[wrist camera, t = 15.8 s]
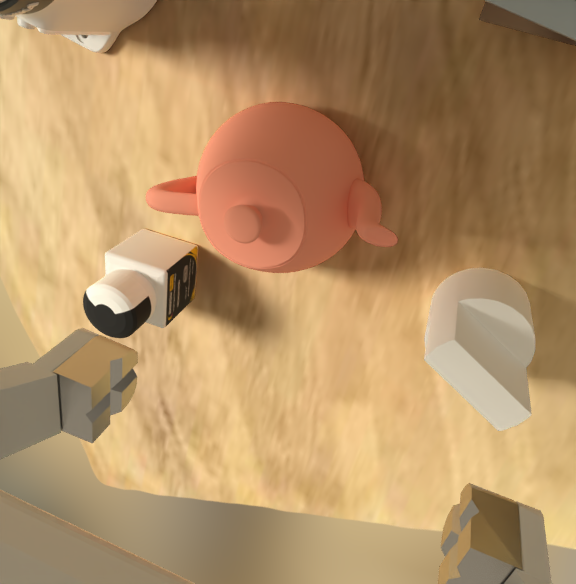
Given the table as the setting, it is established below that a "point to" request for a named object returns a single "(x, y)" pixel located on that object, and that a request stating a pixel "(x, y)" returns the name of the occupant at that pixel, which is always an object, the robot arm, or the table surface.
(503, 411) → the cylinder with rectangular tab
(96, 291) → the white bottle
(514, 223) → the table surface
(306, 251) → the teapot
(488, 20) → the bottom block
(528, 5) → the top block
